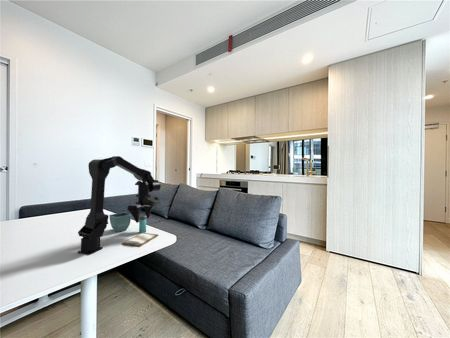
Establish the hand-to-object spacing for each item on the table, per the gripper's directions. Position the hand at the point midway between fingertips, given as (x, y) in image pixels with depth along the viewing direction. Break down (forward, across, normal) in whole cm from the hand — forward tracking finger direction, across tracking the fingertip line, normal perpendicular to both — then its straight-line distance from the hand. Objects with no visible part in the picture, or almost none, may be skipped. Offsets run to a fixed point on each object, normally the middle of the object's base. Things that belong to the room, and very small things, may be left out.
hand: (142, 220), depth 107 cm
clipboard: (+7, -10, -6) cm, 14 cm away
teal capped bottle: (+7, 0, 0) cm, 7 cm away
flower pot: (+7, -1, +14) cm, 16 cm away
